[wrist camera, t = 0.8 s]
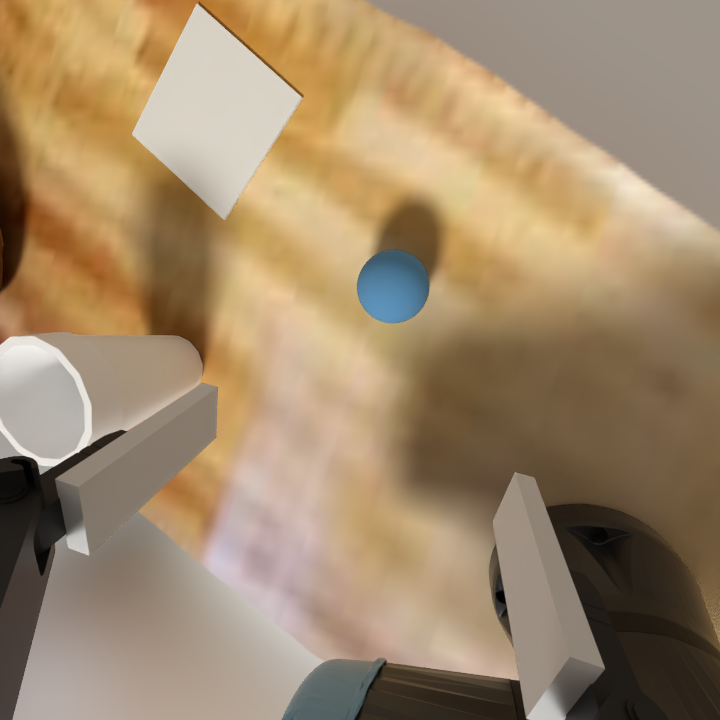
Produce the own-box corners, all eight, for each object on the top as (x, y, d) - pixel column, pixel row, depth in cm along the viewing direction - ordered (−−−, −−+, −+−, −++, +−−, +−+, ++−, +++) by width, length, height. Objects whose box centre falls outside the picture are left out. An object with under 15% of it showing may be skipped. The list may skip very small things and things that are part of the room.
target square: (302, 98, 29) (301, 97, 28) (225, 220, 32) (223, 220, 32) (198, 5, 29) (196, 3, 29) (133, 135, 33) (131, 134, 33)
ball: (445, 284, 29) (444, 282, 23) (399, 333, 30) (389, 342, 25) (395, 239, 29) (384, 227, 24) (353, 290, 31) (333, 290, 25)
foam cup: (140, 311, 36) (-19, 322, 24) (218, 328, 34) (90, 350, 22) (138, 397, 39) (-9, 448, 26) (212, 418, 37) (92, 483, 24)
